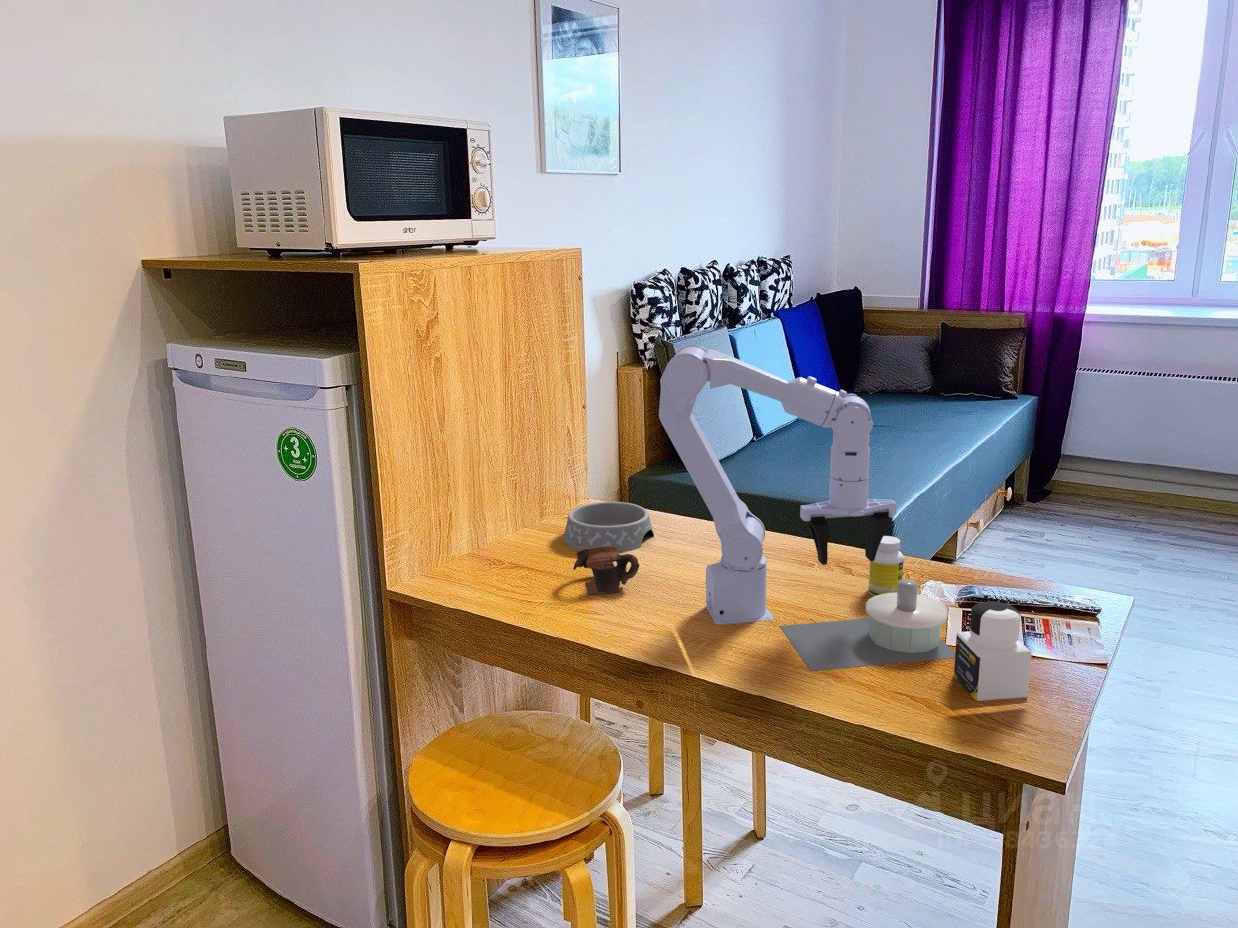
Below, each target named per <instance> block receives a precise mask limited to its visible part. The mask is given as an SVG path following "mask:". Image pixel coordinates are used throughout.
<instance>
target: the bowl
mask: <svg viewBox="0 0 1238 928" xmlns="http://www.w3.org/2000/svg"><path fill="white" fill-rule="evenodd" d="M869 618H870V617H869ZM941 634H942V625H940V626H938V627H934V628H930V629H923V630H907V629H899V628H894V627H889V626H886V625H883V624H880V623H878V622H876V621H874V620H873V619H871V618H870V626H869V637H870V638H871V639H872V640H873V641H874V643H875V644H877V645H879V646H882V647H884V648H886V649H889V650H892V651H899V652H906V653H917V652H928V651H930V650H932V649H934V648H936V647H938V646H939V643H940V639H941V636H942V635H941Z"/></svg>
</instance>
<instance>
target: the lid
mask: <svg viewBox="0 0 1238 928" xmlns="http://www.w3.org/2000/svg"><path fill="white" fill-rule="evenodd" d="M918 583H919V582H917V581H916V580H914V579H907V578H905V579H904V578H902V580H899V581H898V588H897V593H885V594H880V595H877V596H873V597H870V598H869V599H868V600H867V601H866V604H865V613H866V614H867V616H868V617H869V618H871V619H873V620H874V621H876V622H878V623H880V624H883V625H886V626H889V627H894V628H899V629H907V630H923V629H930V628H934V627H938V626H940V625H941V626H942V625H943V624H945V623H946V622H947V619H948V615H949V614H948V608H947V607H946V606H945V604H944V603H942V602H941V601H938V600H937V599H935V598H932V597H929V596H925V595H922V594H918Z"/></svg>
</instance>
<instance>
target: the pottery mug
mask: <svg viewBox="0 0 1238 928" xmlns="http://www.w3.org/2000/svg"><path fill="white" fill-rule="evenodd" d="M576 557H577V559H576V561H574V562H575V563H574V565H573V571H576V569H577V568H582V567H583V568H584V569H590V570H591V572H592V574H593V577H594V579H593V580H589V581H586V582H585V583H584V587H585V588H586V594H587V595H589V596H590V595H595V594H603V593H604V594H609V593H619V592H620V586H621V584H622V586H623V585H624V586H625V585H626V584H627V582H628V581H629V579H633V578H634V577H635V576H636V574H637V573H638V571H639V568H640V563H639V559H638V558H637V556H635V555H634V554H630V553H624V554H620V553H619V552H618V551H617V547H615V546H600V547H594V548H589V549H584V550H582V551H579V550H578V551H577V552H576ZM615 562H616V566H615ZM628 563H630V567H629V569H628V571H627V567H628V566H627V565H628Z"/></svg>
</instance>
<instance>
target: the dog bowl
mask: <svg viewBox="0 0 1238 928" xmlns="http://www.w3.org/2000/svg"><path fill="white" fill-rule="evenodd" d="M649 531H650V532H651V533H652V535H653V536H655V534H654V530H653V527H652V522H651V517H650V514H649V511H648V510H647V509H646V508H644V507H642V506H641V505H638V504H635V503H631V502H625V501H624V502H622V501H599V502H591V503H587V504H583V505H580V506H577V507H575V508H574V509H572V510H571V511H570V512H569V513H568V514H567V520H566V524H565V529H564V534H563V542H564V544H565V545H566V546H568V547H569V548H571V549H574V550H576V551H578V552H579V551H582V550H584V549H589V548H594V547H600V546H615V547H617V551H618V553H624V552H629V551H630V552H631V551H635V550H638V549H640V548H642V543H643V540H644V536H646V534H647V533H649Z"/></svg>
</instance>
